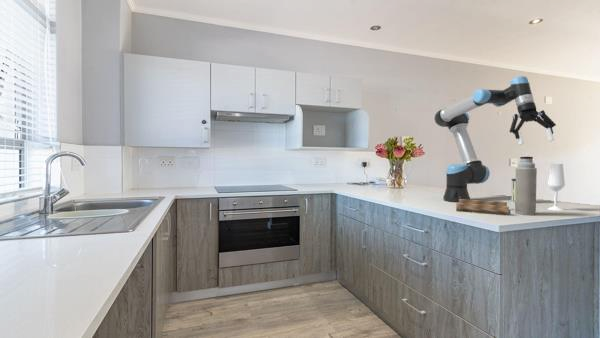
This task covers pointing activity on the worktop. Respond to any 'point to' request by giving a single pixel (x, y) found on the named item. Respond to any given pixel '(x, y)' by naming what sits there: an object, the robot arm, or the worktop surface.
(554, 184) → the champagne flute
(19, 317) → the worktop surface
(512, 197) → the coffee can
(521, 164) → the thermos bottle
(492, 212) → the cradle
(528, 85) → the robot arm
